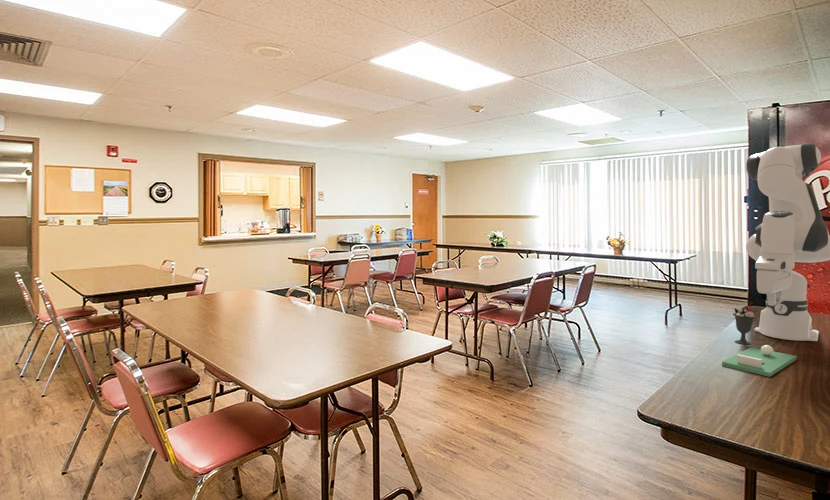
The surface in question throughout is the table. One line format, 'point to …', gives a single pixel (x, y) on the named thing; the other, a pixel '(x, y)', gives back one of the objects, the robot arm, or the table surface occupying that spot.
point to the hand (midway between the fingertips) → (774, 304)
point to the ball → (767, 350)
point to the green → (759, 361)
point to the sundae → (744, 322)
